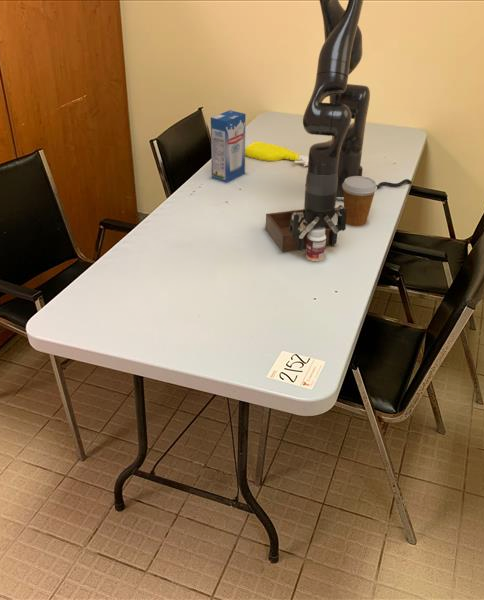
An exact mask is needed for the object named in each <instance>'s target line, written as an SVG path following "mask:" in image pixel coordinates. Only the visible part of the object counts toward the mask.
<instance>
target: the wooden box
mask: <svg viewBox="0 0 484 600" xmlns="http://www.w3.org/2000/svg"><path fill="white" fill-rule="evenodd" d="M303 210H304V208H301V209H294V210H293V209H292V210H286V211H278V212H269V213H265V231H266V232H267V234H268V236H270V238H271V239H272V241H273V242H274V244H276V246H277V248H278V249H279V250H280V252H281V253H288V252H294V251H295V252H296V251H300V250H299V249H298V248H297V247H296V237H293V236H292V235H291V234H290V232H289V228H290V219H291V213H292V211H295V212H296V213H300V212H303ZM303 220H304V218H301V220H300V222H299V224H298V228H299V227H300V224H301V222H302V221H303ZM307 225H308V223H307ZM307 225H306V226H307ZM330 230H331V229H330V227H329V226H328V225H326V226H325V235H326V244H325V247H331V246H330V245H329V243H328V242H329V231H330ZM308 233H309V232H307V233H306V235H305V236H304V237H303V238H304V246H303V250H306V245H307V235H308Z"/></svg>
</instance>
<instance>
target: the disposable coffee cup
mask: <svg viewBox="0 0 484 600" xmlns="http://www.w3.org/2000/svg"><path fill="white" fill-rule="evenodd" d="M376 185H377V182H376V180H374V179H373V178H371V177H368V176H363V175H362V176H352V177H348V178H346V179H345V181H344V183H343V184H342V187H343V190H344V201H343V207H344V208H345V209H346V210H347V212H346V225H349V226H352V227H363V226H365V225H366V224H367V222H368V217H369V215H370V211H371V207H372V204H373V199H374V196H375V193H376V192H377V189H378V188H377V186H376Z"/></svg>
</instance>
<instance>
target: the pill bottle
mask: <svg viewBox="0 0 484 600" xmlns="http://www.w3.org/2000/svg"><path fill="white" fill-rule="evenodd" d="M325 244H326V235H325V227H318V228H312V229H311V230H310V231H309V233H308V235H307V245H306V249H305V258H306V259H307V260H308V261H311V262H321V261H322V260H324V259H325V252H326V246H325Z"/></svg>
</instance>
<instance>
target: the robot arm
mask: <svg viewBox="0 0 484 600" xmlns="http://www.w3.org/2000/svg"><path fill="white" fill-rule="evenodd" d="M319 4H320V5H319V6H320V10H321V16H322V22H323V33H324V43H323V45H322V46H321V49H320V51H319V54H318V59H317V69H316V77H315V82H314V87H313V89H312V94H311V96H310V98H309V99H310V100H309V101H308V103H307V105H306V108H305V110H304V112H303V117H302V127H303V129H304V130H305V132H306V133H307V134H308V135H314V136H325V137H326V136H327V137H331V139H330V140H327V141H324V142H317V143H314V144H312V145H311V146H310V147H309V151H308V157H309V160H308V165H307V170H306V171H307V172H306V175H305V176H306V177H305V184H304V203H303V207H304V208H303V209H304V210H303V212H300V213H296V212H295V211H293V210H291V211H292V213H291V219H290V228H289V232H290V234H291V235H292V236H293V237H296V247H297V248H298V249H299V250H298V251H299V252H303V251H304V249H303V246H304V238H303V237H304V236H305V235H306V233H307V232H309V231H310V230H311V229H312V228H318V227H325V226H326V225H328V226H329V227H330V229H331V230H330V231H329V242H328V243H329V245H330V246H329V247H331V248H333V247H335V245H336V244H337V243H338V242H337V240H338V234H339V232H342V231H343V232H344V231H345V230H346V228H347V224H346V212H347V210H346V209H345V208H344V205H342V204H339V205H338V207H336V202H337V201H342V202H344V190H343V187H342V184H343V183H344V181H345V179H346V178H348V177H352V176H363V171H364V170H363V166H361V163H362V155H363V146H364V137H365V131H366V123H367V118H368V117H367V116H368V112H369V107H370V99H371V91H370V88H369V86H367V85H363V84H362V85H361V84H352V83H348V80H349V76H350V75H351V74H352V73H353V72H354V70H356V68H357V67H358V65H359V64H360V62H361V61H362V58H363V33H362V31H361V28H360V26H359V21H360V18H361V13H362V8H363V5H364V0H348V2H347V4H346V5H347V6H346V8H344V7H343V6H342V4H341V3H340V1H339V0H319ZM327 97H328V98H329V102H323V101H324V100H325V99H327ZM352 120H354V121H353V122H352ZM351 122H352V123H351ZM406 183H407V184H409V185H411V184H412V183H413V182H412V181H411V179H408V178H405V179H403V180H402V181H399V182H395V183H393V182H388V181H381V182H379V183H378V184H376V186H377V189H380V188H381V187H382V186H389V187H400V186H402V185H404V184H406ZM335 215H336V216H337V221H336V224H335V223H334V222H333V220H332V219H333V218H334V217H335ZM301 218H304V220H303V221H302V222H301V224H300V227H299V228H298V224H299V222H300V220H301ZM307 223H308V225H307ZM306 225H307V226H306Z"/></svg>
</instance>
